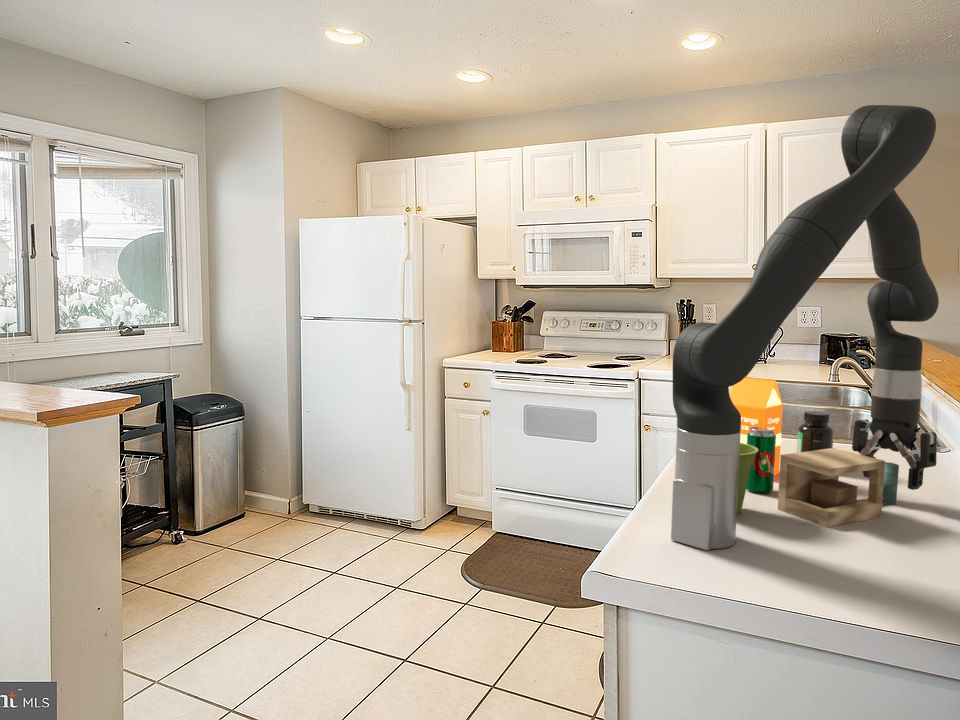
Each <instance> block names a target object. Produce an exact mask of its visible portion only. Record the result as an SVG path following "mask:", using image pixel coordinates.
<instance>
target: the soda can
mask: <svg viewBox="0 0 960 720" xmlns="http://www.w3.org/2000/svg"><path fill="white" fill-rule="evenodd" d="M747 444H749V445H752V446H754V447H756V448H758V450H759V451H758V453H756V454H755V457H754V461H753V465H752V466H751V469H750V473H749V478H748V482H747V487H746V491H747V492H749V493H753V494H761V495H763V494H764V495H765V494H766V495H767V494H770V493H772V491H773V490H774V479H775V478H774V477H775V475H774V464H775V445H776V435H775V433H774V429H771V428H767V427H750V430H749V432H748V433H747Z"/></svg>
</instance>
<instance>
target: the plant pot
mask: <svg viewBox="0 0 960 720" xmlns="http://www.w3.org/2000/svg"><path fill="white" fill-rule="evenodd" d="M758 451H759V450H758V448H756V447H754V446H752V445H749V444H744V443H740V455H739V476H738V497H737V514H740V513H741V511H742V510H743V505H744V501H745V497H746V496H745V495H746V491H747V489H746V487H747V482H748V478H749V473H750V469H751V466H752V465H753V461H754V457H755V454H756V453H758Z"/></svg>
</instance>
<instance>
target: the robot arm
mask: <svg viewBox="0 0 960 720" xmlns="http://www.w3.org/2000/svg"><path fill="white" fill-rule="evenodd" d="M936 122H937V121H936V118H935V116H934V114H933V112H931V111H930V110H928V109H927V108H924V107H921V106H920V107H919V106H913V105H899V104H897V105H895V104H892V105H891V104H890V105H889V104H869V105H868V104H867V105H864V106H861V107H858V108H857V109H855V110H854V111H853V112H852V113H850V115H849V116H848V118H847V119H846V121H845V124H844V125H843V128H842V132H841V138H840V139H841V140H840V143H841V145H840V146H841V152H842V156H843V160H844V163H845V167H846V169H847V171H848V174H849V176H847V177H846V178H845V179H843V180H842V181H840V182H838V183H837V184H835V185H832V186H831V187H829V188H827V189H825V190H824V191H821V192H820V193H818V194H816V195H815V196H812V197H811V198H809V199H808V200H806V201H804V202H803V203H802V204H800V205H798V206H797V207H795V208H794V209H793V210H792V211H791V212H789V213H788V215H787V216H786V217H785V218H784V219H783V221H782V222H781V223H780V224H779V226H777V228H776V229H775V230H774V232H773V233H772V234H771V235H770V237H769V238H768V239H767V241H766V242H765V243H764V245H763V247H762V249H761V251H760V253H759V256H758V258H757V261H756V265H755V268H754V272H753V274H752V275H753V276H752V279H751V282H750V283H749V286H748V287H747V289H746V291H745V293H744V294H743V295H742V297H741V298H740V300H738V302H737V303H736V304H735V305H734V307H733V308H732V309H731V310H730V311H729V312H728V313H727V314H726V315H725V317H723V318H722V319H721V320H720V321H719V322H717V323H714V322H706V321H705V322H704V321H703V322H695V323H693V324H689V325H688V326H687V327H685V328H684V329H683V330H682V331H681V332H680V334H679V335H678V337H677V339H676V341H675V342H674V343H675V344H674V347H673V352H672V353H673V354H672V404H673V407H674V411H675V415H676V443H675V444H676V445H675V464H674V465H675V467H674V471H675V472H674V480H673V481H672V499H671V501H672V502H671V504H672V505H671V529H670V531H671V532H670V540H671V541H675V542H677V543H682V544H684V545H688V546H691V547H694V548H698V549H702V550H705V551H710V550H713V549H724V548H725V549H726V548H729V547H732V546H734V545H735V543H736V536H737V534H736V532H737V520H738V519H737V516H738V515H737V497H738V476H739V455H740V436H741V414H740V412H739V411H738V409H737V408H736V407H735V406H734V404H733V402H732V400H731V398H730V395H729V393H730V388H729V387H732V386H733V385H735V384H737V383H739V382H740V381H742V380H743V379H744V378H745V377H748V375H749V374H750V373H751V372H752V370H753V368H755V366H756V364H757V363H758V362H759V360H760V358H761V356H762V355H763V354H764V352H765V351H766V349H767V347H768V346H769V344H770V342H771V341H772V339H773V338H774V336H775V335H776V333H777V332H778V330H779V329H780V328H781V326H782V325H783V323H784V322H785V320H787V318H788V316H789V315H790V314H791V312H793V310H794V309H795V308H796V307H797V306H798V304H799V303H800V301H801V300H802V299H803V297H804V296H805V295H806V294H807V292H808V291H809V290H810V289H811V288H812V286H813V285H814V284H815V283H816V281H817V280H818V279H819V278H820V277H821V276H822V275H823V274H824V273H825V271H826V270H827V269H828V267H829V266H830V265H831V263H833V261H834V260H835V259H836V258H837V256H838V255H839V254H840V252H841V251H842V250H843V248H844V247H845V246H846V244H847V243H848V241H849V240H850V239H851V238H852V236H853V235H854V234H855V233H856V232H857V230H859V228H860V227H861V226H862V225H863V223H864V222H866V226H867V230H868V235H869V239H870V247H871V254H872V256H871V257H872V262H873V263H872V264H873V268H874V272H875V274H876V276H877V277H879V279H882V280H884V281H879V282H876V283H875V284H874V285H872V286H871V288H870V289H869V291H868V294H867V297H866V299H867V302H866V303H867V308H868V312H869V316H870V319H871V322H872V327H873V332H874V337H875V358H874V359H875V360H874V361H875V362H874V372H873V376H872V377H873V378H872V383H871V384H872V385H871V400H870V401H871V402H870V417H871V418H872V419H871V421H870V420H868V419H858V420H855V421H854V427H853V437H852V444H851V445H852V446H851V449H852V451H854V452H857V453H858V454H859V455H863V456H867V457H871V458H875V459H877V457H876V456H875V455H876V454H877V453H878V451H880V450H881V449H883V450H890V451H892V452H894V453H895V452H897V453H900V455H901V457H902V458H904V459H905V460H906V462H907V464H908V466H909V468H908V478H907V479H908V480H907V488H908V489H909V490H912V491H914V490H915V491H916V490H919V489H920V487H922V486H923V483H924V482H923V481H924V470H925V468H926V469H927V468H932V467H936V465H937V449H938V448H937V439H938V437H937V433H936V432H935V431H930V432H923V431H919V428H918V424H919V421H920V418H921V415H920V414H921V401H922V389H923V388H922V386H923V385H922V384H923V383H922V382H923V381H922V363H923V362H922V361H923V360H922V359H923V341H922V339H921V338H920V337H918V336H914V335H911V334H906V333H902V332H900V331H897V330H896V329H895V328H894V327H893V324H892V322H907V323H908V322H909V323H910V322H911V323H912V322H913V323H914V322H915V323H920V322H921V323H922V322H926V321H928V320H930V319H932V318H933V317H934V316H935V315H936V313H937V311H938V309H939V305H940V301H939V294H938V291H937V288H936V287H935V284H934V282H933V280H932V279H931V276H930V275H929V273H928V271H927V268H926V267H925V264H924V260H923V257H922V256H923V255H922V247H921V235H920V231H919V227H918V224H917V221H916V220H915V218H914V216H913V214H912V213H911V211H910V209H909V208H908V207H907V206H906V204H905V203H904V202H903V200H902V198H900V196H899V195H898V193H897V192H896V190H895V189H896V188H897V187H898V186H899V184H901V183H902V182H903V181H904V180H905V178H906V177H908V176H909V175H910V174H911V172H912V171H913V170H915V168H916V167H917V166H918V165H919V164H920V163H921V161H922V160H923V158H924V157H925V156H926V154H927V153H928V152H929V149H930V147H931V146H932V144H933V141H934V138H935V135H936V130H937V123H936ZM869 432H871V434H872V436H871V438H870V439H868V438H869ZM917 440H918V441H917ZM916 441H917V442H918V444H919V445H920V446H919V447H918V444H917V443H916ZM861 472H862V476H863V477H864V478H869V479H870V470H868V471H861Z"/></svg>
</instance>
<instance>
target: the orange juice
mask: <svg viewBox="0 0 960 720" xmlns="http://www.w3.org/2000/svg"><path fill="white" fill-rule="evenodd" d="M780 394H781V393H780V392H779V387H778V384H777V380H776V379H769V378H761V377H754V376H753V377H752V376H746V377H745V378H744V379H743V380H742V381H740V382H739V383H737V384H735V385H733V386H731V388H730V390H729V395H730V398H731V400H732V402H733V404H734V406H735V407H736V408H737V409H738V411H739V412H740V414H741V436H740V443H744V444H747V433H748V432H749V430H750V427H767V428H771V429H774V433H775V435H776V445H775V464H774V476H775V475H778V474H780V458H781V446H782V424H783V423H782V421H783V407H784V405H783V401H782V397H781V395H780Z"/></svg>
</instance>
